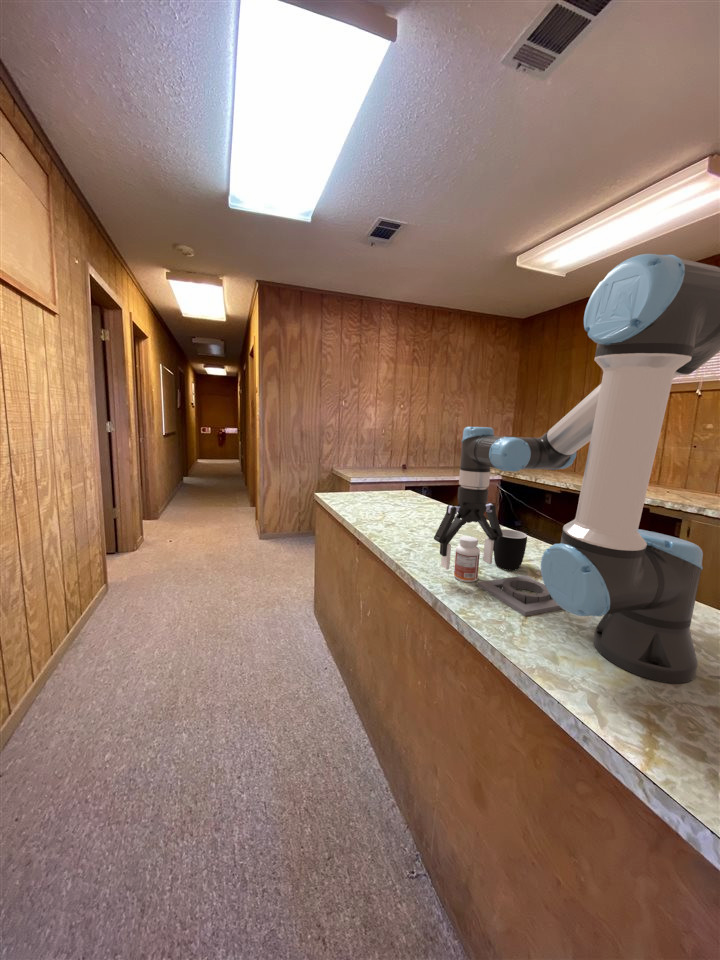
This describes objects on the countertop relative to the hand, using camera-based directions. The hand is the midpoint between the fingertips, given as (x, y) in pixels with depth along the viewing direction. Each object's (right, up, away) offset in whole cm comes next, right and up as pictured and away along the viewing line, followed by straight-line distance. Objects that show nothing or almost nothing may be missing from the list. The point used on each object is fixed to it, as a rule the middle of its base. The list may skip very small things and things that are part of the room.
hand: (466, 564), depth 101 cm
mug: (+15, -3, +12) cm, 19 cm away
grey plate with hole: (+12, -6, -9) cm, 16 cm away
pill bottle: (0, -4, +1) cm, 4 cm away
